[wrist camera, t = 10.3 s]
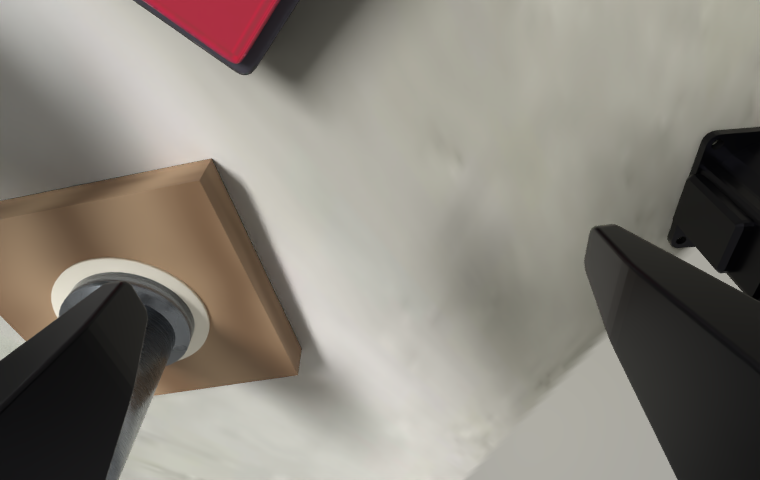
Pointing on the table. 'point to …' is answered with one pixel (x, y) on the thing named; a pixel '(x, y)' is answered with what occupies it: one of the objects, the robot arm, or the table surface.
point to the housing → (144, 347)
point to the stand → (152, 267)
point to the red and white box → (226, 26)
